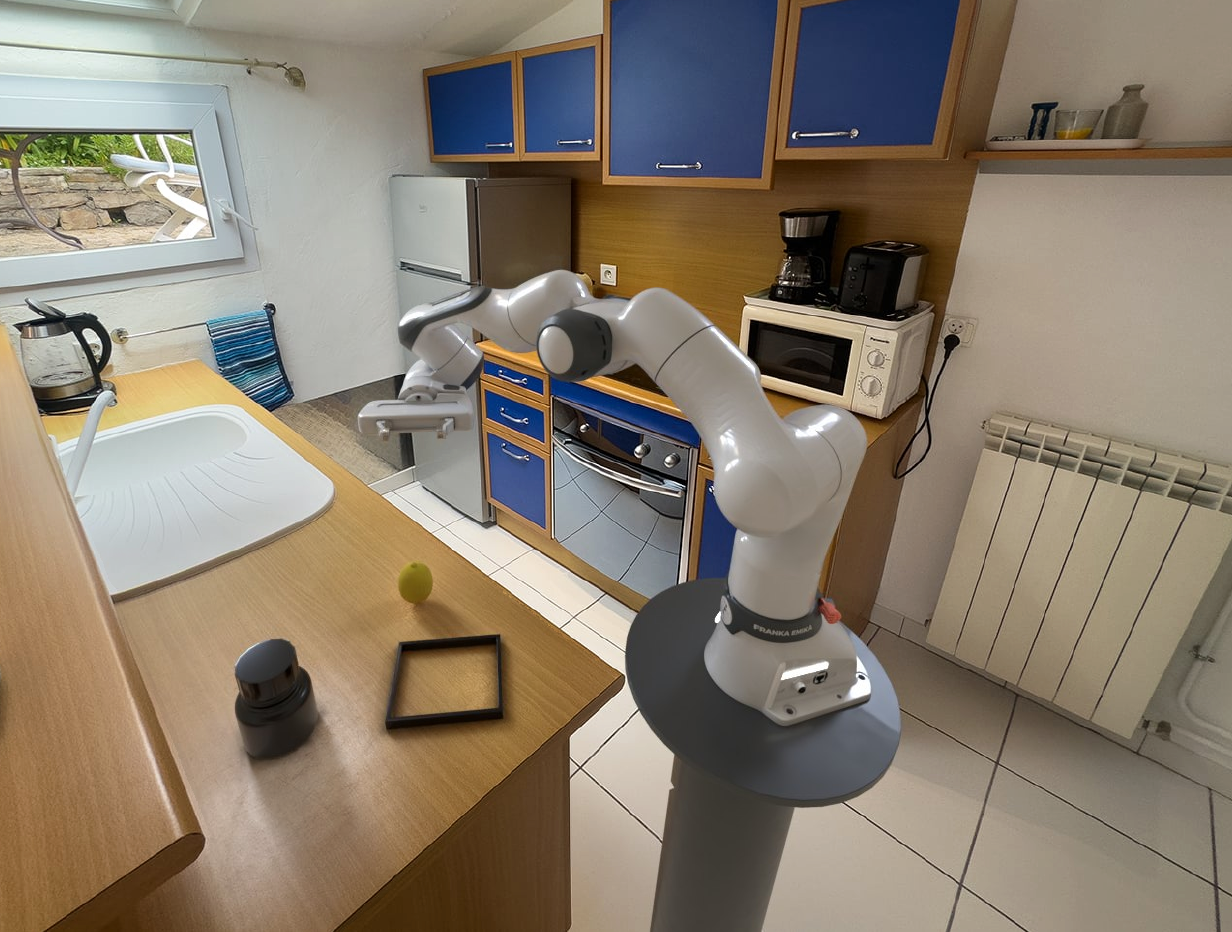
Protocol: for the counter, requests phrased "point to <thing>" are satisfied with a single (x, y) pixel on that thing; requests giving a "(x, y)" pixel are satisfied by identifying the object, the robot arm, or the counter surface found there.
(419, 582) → the lemon
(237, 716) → the ink bottle
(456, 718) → the black square frame
